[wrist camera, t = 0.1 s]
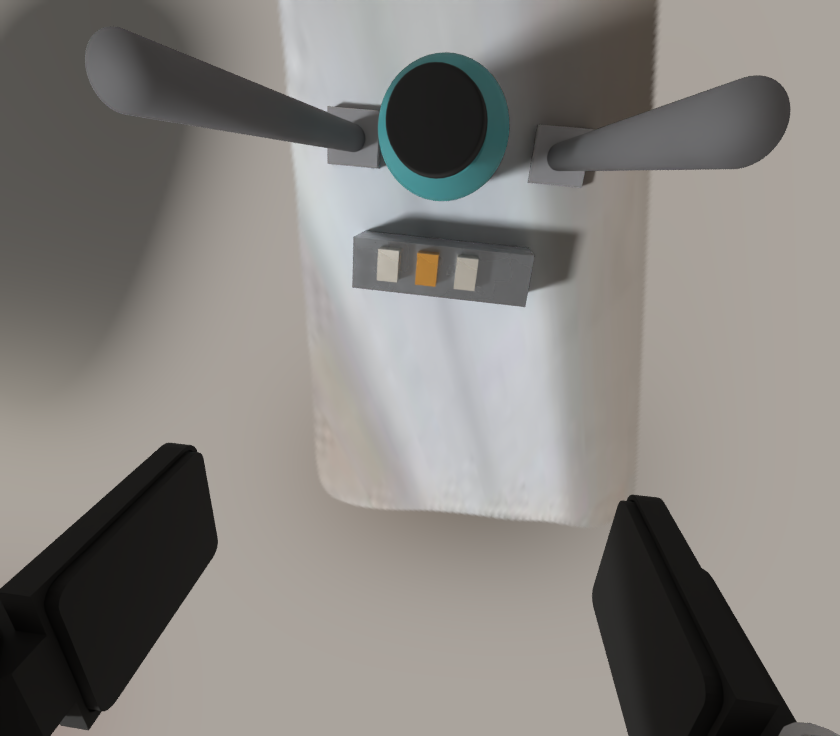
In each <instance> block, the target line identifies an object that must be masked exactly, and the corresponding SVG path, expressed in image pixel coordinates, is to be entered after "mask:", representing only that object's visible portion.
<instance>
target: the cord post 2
mask: <svg viewBox="0 0 840 736" xmlns="http://www.w3.org/2000/svg"><path fill="white" fill-rule="evenodd" d="M789 118H790V102H789V98H788V95H787V93H786V91H785V89H784V88H783V87H782V86H781V84H780V83H778V82H777V81H776V80H774V79H772V78H769V77H766V76H748V77H744V78H742V79H738V80H736V81H733V82H730V83H727V84H724V85H721V86H718V87H715V88H713V89H710V90H707V91H704V92H701V93H698V94H696V95H693V96H690V97H687V98H684V99H681V100H678V101H675V102H673V103H670V104H667V105H664V106H661V107H658V108H656V109H653V110H650V111H647V112H644V113H641V114H638V115H636V116H633V117H630V118H627V119H624V120H621V121H618V122H616V123H613V124H610V125H607V126H604V127H601V128H598V129H596V130H594V129H587V128H575V127H564V126H552V125H540V124H539V125H538V126H537V131H536V137H535V143H534V149H533V155H532V160H531V166H530V172H529V178H528V183H536V184H547V185H558V186H568V187H579V188H582V183H583V178H584V174H585V171H616V170H692V169H693V170H694V169H739V168H744V167H747V166H749V165H752V164H754V163H756V162H758V161H760V160H761V159H763V158H764V157H765V156H767V155H768V154H769V153H770V152H771V151H772V150H773V149H774V148H775V147H776V146H777V144H778V143H779V141H780V140H781V138H782V137H783V135H784V133H785V131H786V128H787V125H788V122H789Z"/></svg>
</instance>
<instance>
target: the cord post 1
mask: <svg viewBox="0 0 840 736" xmlns="http://www.w3.org/2000/svg"><path fill="white" fill-rule="evenodd" d="M85 66H86V71H87V75H88V78H89V81H90V83H91V86H92V87H93V89H94V91H95V93H96V94H97V95H98V97H99V98H100V99H101V100H102V101H103V102H104V103H105V104H106V105H107V106H108V107H109V108H111V109H113V110H114V111H116V112H118V113H121V114H125V115H131V116H137V117H143V118H149V119H155V120H161V121H167V122H173V123H179V124H185V125H191V126H197V127H203V128H210V129H215V130H222V131H228V132H234V133H241V134H247V135H252V136H259V137H264V138H270V139H276V140H282V141H288V142H294V143H300V144H306V145H312V146H318V147H324V148H328V164H336V165H346V166H357V167H368V168H379V163H380V145H379V138H378V119H379V113H380V111H378V110H366V109H355V108H343V107H331V106H328V112H326V111H323V110H321V109H318V108H316V107H313V106H311V105H308V104H306V103H304V102H301V101H299V100H296V99H294V98H291V97H289V96H286V95H284V94H281V93H279V92H277V91H274V90H272V89H269V88H267V87H264V86H262V85H260V84H257V83H255V82H252V81H250V80H247V79H245V78H243V77H240V76H238V75H235V74H233V73H230V72H227V71H225V70H223V69H221V68H218V67H216V66H213V65H211V64H208V63H206V62H203V61H201V60H199V59H196V58H194V57H191V56H189V55H186V54H184V53H181V52H179V51H176V50H174V49H171V48H169V47H167V46H164V45H162V44H159V43H157V42H155V41H152V40H150V39H147V38H145V37H142V36H140V35H138V34H135V33H133V32H130V31H128V30H125V29H123V28H120V27H111V26H110V27H105V28H102V29H100V30H98V31H97V32H96V33H94V35H93V36H92V37H91V38H90V41H89V42H88V45H87V48H86V53H85Z"/></svg>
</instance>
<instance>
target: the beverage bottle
mask: <svg viewBox="0 0 840 736" xmlns="http://www.w3.org/2000/svg"><path fill="white" fill-rule="evenodd" d="M508 137H509V113H508V107H507V103H506V100H505V97H504V94H503V92H502V90H501V88H500V86H499V84H498V82H497V81H496V80H495V78H494V77H493V76H492V74H491V73H490V72H489V71H488V70H487V69H486V68H485V67H483V66H482V65H481V64H480V63H478V62H476V61H475V60H473V59H471V58H469V57H466V56H464V55H460V54H456V53H435V54H431V55H427V56H424V57H422V58H419V59H418V60H416V61H414V62H412V63H411V64H409V65H408V66H407V67H405V68H404V69H403V70H402V71H401V72H400V73H399V74H398V75H397V76H396V78H395V79H394V80H393V81H392V83H391V85H390V86H389V88H388V90H387V92H386V94H385V96H384V98H383V101H382V105H381V108H380V113H379V119H378V138H379V145H380V149H381V153H382V156H383V158H384V161H385V163H386V165H387V167H388V169H389V170H390V172H391V173H392V175H393V176H394V177H395V178H396V180H397V181H398V182H399V183H400V184H401V185H402V186H403V187H405V188H406V189H407V190H409V191H410V192H412V193H413V194H415V195H417V196H419V197H422V198H425V199H429V200H433V201H450V200H456V199H459V198H462V197H465V196H467V195H469V194H471V193H473V192H474V191H476V190H478V189H479V188H480V187H481V186H483V185H484V184H485V183H487V182H488V181H489V179H490V178H491V177H492V175H493V174H494V173H495V171H496V170H497V168H498V166H499V164H500V163H501V160H502V158H503V156H504V153H505V150H506V147H507V142H508Z"/></svg>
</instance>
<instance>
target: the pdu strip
mask: <svg viewBox="0 0 840 736" xmlns="http://www.w3.org/2000/svg"><path fill="white" fill-rule="evenodd" d="M534 257H535V256H534V254H533V253H532V252H531V250H530V249H529V248H525V247H515V246H506V245H496V244H487V243H477V242H467V241H458V240H448V239H439V238H429V237H419V236H410V235H400V234H391V233H381V232H371V231H364V232H362V233H360V234H358V235H356V236H355V237H354V243H353V285H352V287H353V288H362V289H371V290H379V291H388V292H397V293H406V294H415V295H424V296H433V297H441V298H450V299H459V300H468V301H477V302H486V303H495V304H504V305H512V306H521V307H525V305H526V299H527V294H528V289H529V284H530V278H531V273H532V268H533V262H534Z"/></svg>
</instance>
